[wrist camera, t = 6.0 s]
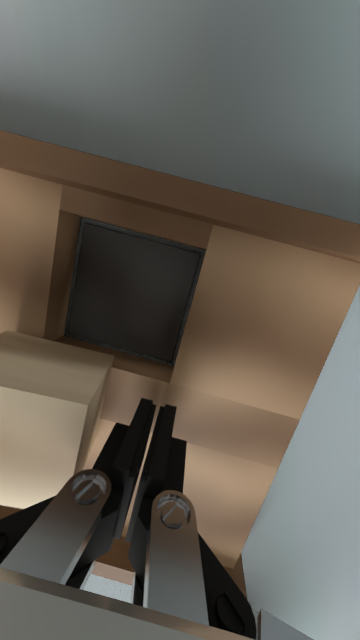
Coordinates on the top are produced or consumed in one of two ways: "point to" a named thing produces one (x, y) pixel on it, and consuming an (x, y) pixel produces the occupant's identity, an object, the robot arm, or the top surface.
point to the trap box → (179, 315)
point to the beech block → (46, 414)
